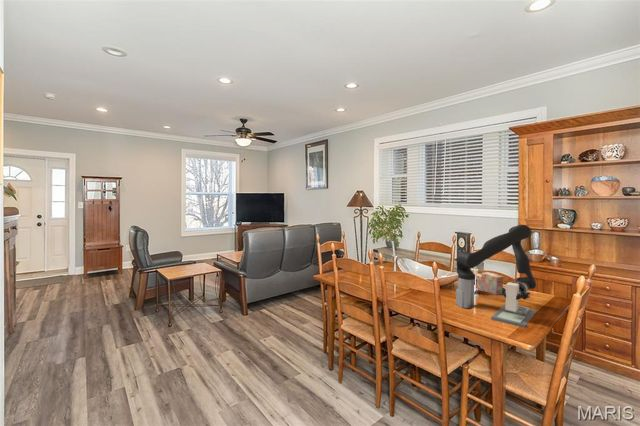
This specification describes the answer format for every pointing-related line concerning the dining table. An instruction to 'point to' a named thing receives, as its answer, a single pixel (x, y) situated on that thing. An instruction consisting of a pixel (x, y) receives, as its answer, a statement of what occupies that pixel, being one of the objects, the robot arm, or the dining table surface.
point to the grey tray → (514, 316)
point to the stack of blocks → (490, 282)
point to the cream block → (512, 296)
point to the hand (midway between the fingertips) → (511, 296)
